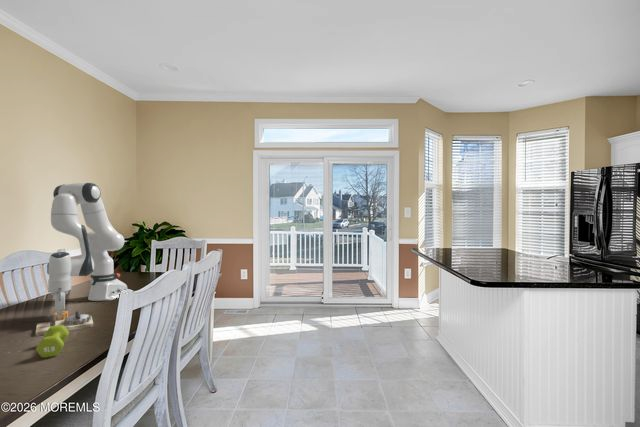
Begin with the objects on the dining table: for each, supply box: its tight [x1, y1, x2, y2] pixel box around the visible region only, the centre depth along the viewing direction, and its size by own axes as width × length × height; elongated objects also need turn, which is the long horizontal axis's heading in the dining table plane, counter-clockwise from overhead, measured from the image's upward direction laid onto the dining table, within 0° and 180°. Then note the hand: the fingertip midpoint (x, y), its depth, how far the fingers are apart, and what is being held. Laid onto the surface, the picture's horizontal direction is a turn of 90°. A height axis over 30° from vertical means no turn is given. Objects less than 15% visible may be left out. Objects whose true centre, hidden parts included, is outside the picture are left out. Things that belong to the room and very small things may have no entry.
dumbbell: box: [35, 325, 70, 359], centre depth 128 cm, size 16×8×7 cm, turn 29°
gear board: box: [35, 310, 94, 337], centre depth 152 cm, size 20×13×6 cm, turn 128°
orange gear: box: [50, 310, 70, 321], centre depth 162 cm, size 7×7×3 cm
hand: (59, 315), depth 162 cm, fingers open, 8 cm apart
